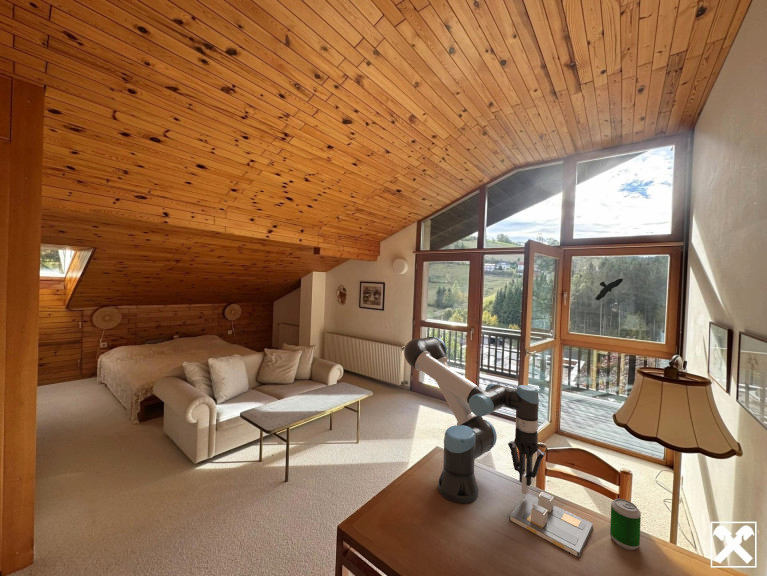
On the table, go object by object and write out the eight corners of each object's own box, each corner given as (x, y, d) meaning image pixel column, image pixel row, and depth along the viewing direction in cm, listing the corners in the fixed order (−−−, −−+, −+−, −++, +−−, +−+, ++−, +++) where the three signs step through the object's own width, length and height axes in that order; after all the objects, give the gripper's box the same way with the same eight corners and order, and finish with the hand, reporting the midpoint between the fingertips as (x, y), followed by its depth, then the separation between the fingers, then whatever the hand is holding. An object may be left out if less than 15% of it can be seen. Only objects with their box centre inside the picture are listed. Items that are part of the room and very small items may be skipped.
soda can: (645, 554, 97) (646, 515, 97) (617, 549, 98) (618, 510, 98) (631, 535, 104) (632, 498, 104) (605, 531, 106) (606, 495, 106)
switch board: (508, 520, 109) (508, 515, 109) (528, 497, 122) (528, 492, 122) (578, 558, 95) (578, 552, 95) (592, 528, 107) (592, 522, 107)
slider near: (530, 520, 107) (531, 507, 107) (534, 515, 109) (535, 503, 109) (543, 527, 104) (543, 514, 104) (547, 521, 106) (547, 509, 106)
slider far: (538, 506, 114) (538, 494, 114) (541, 502, 116) (541, 490, 116) (550, 512, 111) (550, 500, 111) (553, 508, 113) (553, 495, 113)
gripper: (505, 426, 121) (503, 488, 121) (541, 438, 111) (539, 505, 111) (513, 420, 126) (511, 480, 126) (548, 431, 117) (547, 496, 117)
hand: (525, 492), depth 119 cm, fingers closed
